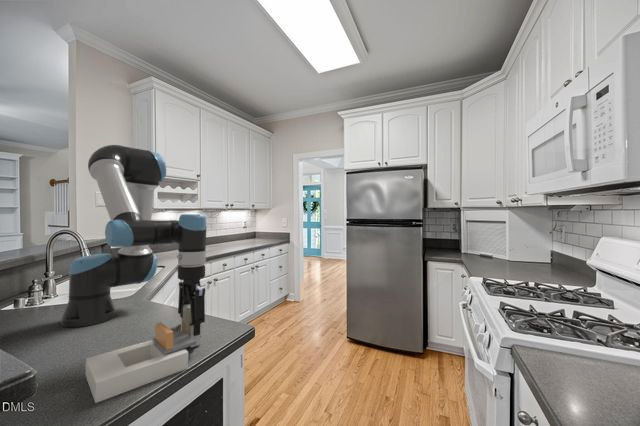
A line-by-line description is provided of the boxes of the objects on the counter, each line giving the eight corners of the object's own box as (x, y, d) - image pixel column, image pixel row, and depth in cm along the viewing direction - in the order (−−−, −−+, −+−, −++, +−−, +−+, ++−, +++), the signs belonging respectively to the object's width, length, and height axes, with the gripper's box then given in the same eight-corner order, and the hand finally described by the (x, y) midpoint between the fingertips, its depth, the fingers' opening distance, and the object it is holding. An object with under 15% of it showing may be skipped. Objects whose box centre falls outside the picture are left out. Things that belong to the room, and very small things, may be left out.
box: (182, 340, 83) (183, 304, 84) (198, 338, 85) (199, 302, 85) (181, 347, 78) (182, 309, 79) (198, 345, 80) (198, 307, 80)
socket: (85, 375, 64) (86, 358, 64) (168, 349, 77) (168, 335, 78) (95, 403, 55) (95, 383, 55) (188, 368, 68) (188, 352, 68)
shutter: (152, 342, 73) (153, 323, 73) (182, 333, 78) (182, 316, 78) (164, 354, 66) (165, 334, 66) (196, 344, 72) (196, 325, 72)
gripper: (167, 262, 86) (165, 336, 86) (192, 270, 73) (190, 357, 72) (191, 260, 92) (190, 329, 91) (218, 267, 79) (217, 348, 78)
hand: (190, 341), depth 82 cm, fingers open, 6 cm apart
